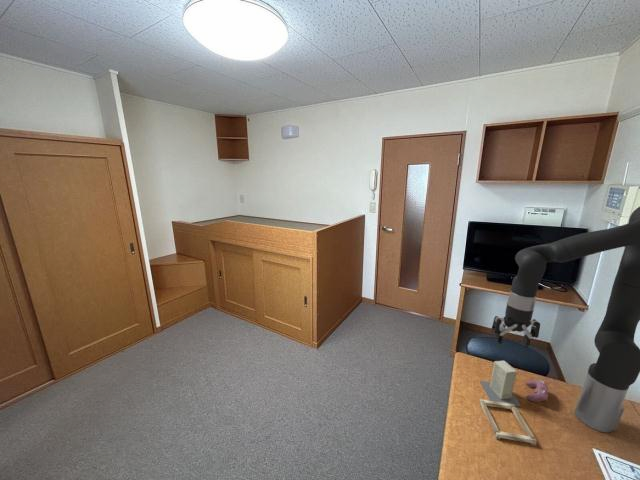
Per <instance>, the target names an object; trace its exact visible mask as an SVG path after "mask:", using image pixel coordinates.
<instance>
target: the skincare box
mask: <svg viewBox="0 0 640 480" xmlns="http://www.w3.org/2000/svg"><path fill="white" fill-rule="evenodd" d="M517 372H518V371H517V370H515V368H514V367H513V366H511V365H510V364H509V363H508V362H507V361H505V360H495V361H494V362H493V368H492V373H491V378H490V382H491V383H490V388H491V389H492V390H493V391H494V392H495V393H496V394H497V396H498V397H499V398H500V399H511V397H512V393H513V390H514V386H515V383H516V382H515V381H516V378H517V377H516V376H517Z"/></svg>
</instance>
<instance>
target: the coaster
mask: <svg viewBox="0 0 640 480" xmlns="http://www.w3.org/2000/svg"><path fill="white" fill-rule="evenodd" d="M479 383H480V384H481V387H482V388H483V390H484V392H485V394H486V396H487V398H488V400H489V401H495V402H502V403H509V404H514V405H515V407H516V408H521V407H522V405H521V403H520V401H519V400H518V399H517V397H516V396H515V394H514V393H513V392H512V397H511V399H500V398H499V397H498V396H497V394H496V393H495V392H494V391H493V390H492V389H491V388H490V383H491V381H483V380H480V381H479Z"/></svg>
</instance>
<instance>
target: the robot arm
mask: <svg viewBox="0 0 640 480" xmlns="http://www.w3.org/2000/svg"><path fill="white" fill-rule="evenodd" d="M619 248H624V249H623V253H622V255H621V259H620V262H619V265H618V269H617V271H616V275H615V277H614V279H613V284H612V288H611V292H610V296H609V300H608V303H607V306H606V311H605V314H604V316H603V320H602V321H601V323H600V326H599V327H598V330H597V331H596V334H595V337H594V346H595V348H596V350H597V352H599V353H598V357H597V360H596V362H594V363H591V364H590V365H589V366H588V369H587V373H586V376H585V378H584V382H583V385H582V388H581V390H580V394H579V395H578V396H579V397H578V399H577V403H576V406H575V409H574V414H575V416H576V418H577V419H579V421H581V422H582V423H583V424H585V425H586V426H587V427H589V428H591V429H593V430H596V431H598V432H601V433H606V434H607V433H611V432H612V431H617V428H618V426H619V423H620V420H621V419H622V415H623V413H624V410H625V407H624V405H623V403H624V401H625V398H626V396H627V393H628V391H629V388H630V387H631V385H633V384H634V383H636V381H637V379H638V377H639V375H640V347H639V346H638V345H637V344H636V343H635V334H636V331H637V330H636V329H637V327H638V324H639V322H640V206H639V207H637V208H636V209H634V210H633V212H632V213H631V214H630V216H629V218H628V222H627V223H626V224H622V225H619V226H615V227H610V228H605V229H599V230H594V231H587V232H583V233H579V234H574V235H571V236H568V237H565V238H562V239H559V240H556V241H553V242H550V243H543V244H538V245H533V246H528V247H525V248H523V249H520V250H519V251H518V252H517V253H516V255H515V256H514V260H515V263H516V264H517V265H518V272H517V274H516V276H514V277H513V279H512V283H511V287H510V290H509V291H510V292H509V294H508V298H507V302H506V307H505V316H504V317H499V316H497V315H496V316H494V318H493V322H492V325H491V330H492V331H493V333H494V334H495V335H496V337H495V341H496V342H497V343H498V345H502V344H503V341H504V335H505V334H508V333H509V332H520V333H522V332H523V333H524V335H523V337H522V342H521V344H522V345H523V346H524V347H525V348H528V347H529V346H531V345H530V344H531V340H532V339H533V338H536V339H537V338H538V337H539V336H540V335H539V334H540V328H541V323H540V322H539V321H538V320H537V319H535V318H533V315H534V309H535V306H536V301H537V294H538V293H537V292H538V289H539V284H540V283H541V281H542V280H543V279H542V278H543V277H544V275H545V272H546V269H547V263H552V262H553V263H554V262H555V263H566V262H570V261H574V260H578V259H580V258H584V257H588V256H591V255H595V254H598V253H602V252H606V251H610V250H611V251H612V250H614V249H619ZM530 326H531V327H530ZM506 327H507V328H506ZM529 327H530V328H531V329H530V330H529V329H528V328H529Z"/></svg>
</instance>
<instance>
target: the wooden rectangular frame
mask: <svg viewBox="0 0 640 480" xmlns="http://www.w3.org/2000/svg"><path fill="white" fill-rule="evenodd" d="M478 404H479V406H480V407H481V408H482V411H483V412H484V414H485V416H486V418H487V421H488V422H489V425H490V426H491V428H492V431H493V433H494V438H495V439H496V440H501V438H502V439H507V440H513V441H517V442H524V443H529V444H530V446H537V442H538V440H537V439H536V437H535V435H534V434H533V432H532V430H531V429H530V427H529V425H528V424H527V423H526V421H525V419H524V418H523V416H522V415H521V413H520V411H519V410H518V407H517V406H515V405H514V404H509V403H502V402H495V401H490V400H489V399H488V400H487V399H481V398H479V402H478ZM488 406H489V407H495V408H500V409H506V410H507V409H508V410H510V412H512V413H513V415H514V416H515V418H516V419H517V421H518V422H519V425H520V426H521V427H522V429H523V431H524V432H525V434H526V435H525V434H520V433H519V434H517V433H512V432H506V431H501V430H499V428H498V425H497V424H496V421H495V419H494V418H493V415H492V414H491V412H490V410H489V408H488Z"/></svg>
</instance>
